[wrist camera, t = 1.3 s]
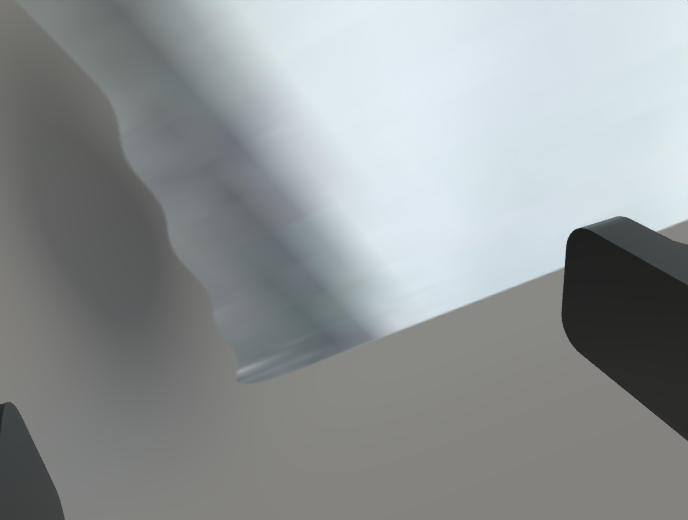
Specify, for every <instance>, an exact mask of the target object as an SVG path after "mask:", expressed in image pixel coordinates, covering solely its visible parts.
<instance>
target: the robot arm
mask: <svg viewBox="0 0 688 520" xmlns="http://www.w3.org/2000/svg"><path fill="white" fill-rule="evenodd" d="M562 323H563V327H564V330H565V332H566V335H567V337H568V339H569V341H570V342H571V344H572V345H573V346H574V348H575V349H576V350H577V351H578V352H579V353H580V354H582V355H583V356H584V357H585V358H587V359H588V360H589V361H590V362H591V363H593V364H594V365H595V366H596V367H598V368H599V369H600V370H601V371H602V372H604V373H605V374H606V375H607V376H609V377H610V378H611V379H612V380H614V381H615V382H616V383H617V384H618V385H620V386H621V387H622V388H624V389H625V390H626V391H627V392H628V393H630V394H631V395H632V396H633V397H634V398H636V399H637V400H639V402H641V403H642V404H643V405H644V406H646V407H647V408H648V409H649V410H650V411H652V412H653V413H654V414H655V415H657V416H658V417H659V418H660V419H661V420H663V421H664V422H665V423H666V424H668V425H669V426H670V427H671V428H673V429H674V430H675V431H676V432H678V433H679V434H680V435H681V436H682V437H684V438H685V439H686V440H687V441H688V245H686V244H683V243H679V242H676V241H672V240H671V239H669V238H667V237H665V236H663V235H661V234H659V233H657V232H655V231H653V230H651V229H649V228H647V227H645V226H643V225H641V224H639V223H637V222H635V221H633V220H631V219H629V218H626V217H622V216H618V217H614V218H611V219H608V220H604V221H601V222H598V223H595V224H591V225H588V226H585V227H582V228H578V229H576V230H574V231H573V232H572V233H571V234H570V236H569V238H568V241H567V245H566V258H565V273H564V287H563V300H562ZM0 520H65V519H64V514H63V510H62V506H61V502H60V499H59V496H58V494H57V491H56V488H55V486H54V484H53V482H52V480H51V478H50V475H49V473H48V471H47V469H46V467H45V465H44V463H43V461H42V459H41V457H40V454H39V452H38V450H37V449H36V446H35V444H34V442H33V440H32V438H31V435H30V434H29V431H28V429H27V427H26V425H25V423H24V421H23V419H22V417H21V415H20V413H19V411H18V409H17V408H16V407H15V406H14V404H12V403H11V402H7V403H4V404H0Z"/></svg>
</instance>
